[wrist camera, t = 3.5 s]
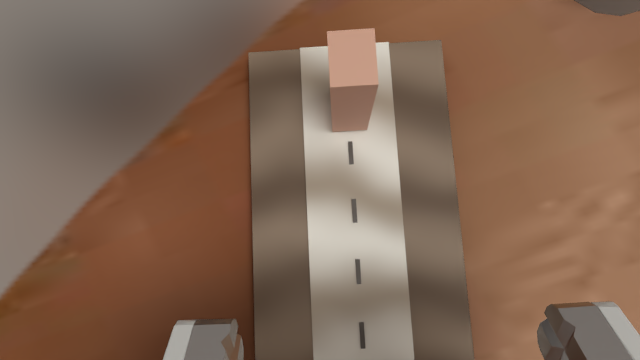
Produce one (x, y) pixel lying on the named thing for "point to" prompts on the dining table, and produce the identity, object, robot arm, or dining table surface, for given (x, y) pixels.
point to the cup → (611, 6)
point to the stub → (352, 78)
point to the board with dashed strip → (355, 213)
